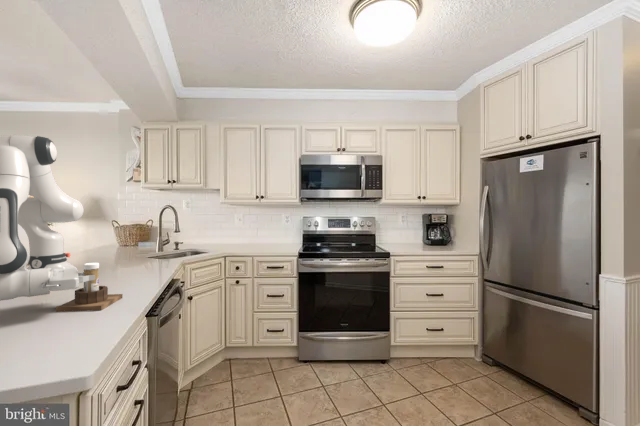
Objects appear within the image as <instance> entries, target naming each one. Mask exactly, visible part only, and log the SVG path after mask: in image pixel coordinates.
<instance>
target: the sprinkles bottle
mask: <svg viewBox="0 0 640 426" xmlns="http://www.w3.org/2000/svg"><path fill="white" fill-rule="evenodd" d="M82 267H83V272H84V276H87V275H93V274H94V275H95V280H91V281H86V282H83V288H84V292H92V291H97V290H99V286H100V276H99V275H100V273H99V269H100V263H99V262H87V263H83V266H82Z"/></svg>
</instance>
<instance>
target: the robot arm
mask: <svg viewBox="0 0 640 426" xmlns="http://www.w3.org/2000/svg"><path fill="white" fill-rule="evenodd" d="M57 156H58V150H57V147H56V145H55V143H54V141H52V139H50V138H49V137H46V136H40V135H37V136H33V135H26V134H25V135H22V134H4V135H3V134H1V135H0V301H9V300H14V299H16V298H22V297H27V298H28V297H29V298H30V297H31V298H32V297H36V296H37V297H39V296H46V295H50V293H51V292H57V291H58V292H59V291H69V290H77V289H79V288H80V284H81V283H83V284H84V282H86V281H91V280H95V275H94V274H93V275H87V276H84V271H79V270H78V268H77V267H76V266H75V265H73V264H72V263H70V262H69V261H68V258H71V252H64V251H65V248H64V244H65V243H64V241H65V239H64V236H63V235H62V234H61V233H60V232H58V231H56V230H53V229H51V228H50V226H49V225H48V224H51V223H57V224H58V223H61V224H62V223H63V224H65V223H71V222H76V221H79V220H80V219H81V218H82V216H83V215H84V211H85V209H84V206H83V204H82V202H81V201H80V200H78V199H76V198H74V197H72V196H70V195H68V194H67V193H66V192H64V191H63V190H62V189H61V188H60V186H59V185H58V183H57V181H56V179H55V176H54V173H53V170H52V166H51V165H52V164H54V163H55V162H56V161H57ZM19 226H20V227H21V228H22V229H23V230H24V231H25V234H26V235H27V239H28V246H29V248H28V249H29V250H28V249H27V247H25V246H24V244H23V243H22V242H21V240H20V238H19ZM28 265H29V266H28Z"/></svg>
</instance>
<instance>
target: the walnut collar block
mask: <svg viewBox="0 0 640 426" xmlns="http://www.w3.org/2000/svg"><path fill="white" fill-rule="evenodd" d="M108 289H109V288H108V286H105V285H99V290H97V291H92V292H84V287H82V288H80V287H79V288H77V289H74V299H72V300H69V301H67V302H65V303H63V304H60V305H58V306H56V307H55V312H58V313H60V312H61V313H62V312H85V311H86V312H87V311H88V312H89V311H93V312H94V311H95V312H96V311H102V310H104V309H106V308H108V307H110V306H111V305H113V304H114V303H117V302H118V301H120V300H121V299H123V293H115V294H108V293H109V291H108Z"/></svg>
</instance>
